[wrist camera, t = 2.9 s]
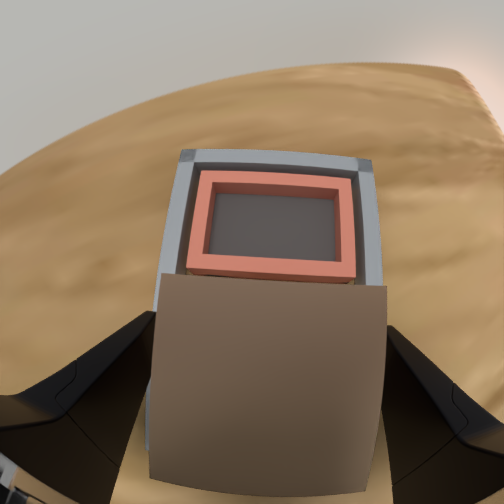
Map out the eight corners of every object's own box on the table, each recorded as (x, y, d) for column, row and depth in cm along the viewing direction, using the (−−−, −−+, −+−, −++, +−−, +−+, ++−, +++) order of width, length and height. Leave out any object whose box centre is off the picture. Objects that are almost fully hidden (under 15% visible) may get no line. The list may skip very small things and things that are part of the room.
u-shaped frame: (357, 452, 13) (367, 464, 11) (157, 439, 14) (145, 449, 12) (362, 176, 18) (371, 160, 16) (188, 166, 19) (181, 149, 17)
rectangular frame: (346, 283, 16) (355, 277, 15) (193, 274, 17) (186, 267, 15) (343, 192, 18) (350, 178, 16) (206, 185, 19) (201, 170, 17)
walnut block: (302, 398, 14) (365, 490, 4) (222, 393, 15) (149, 478, 4) (307, 321, 16) (387, 285, 5) (228, 316, 16) (161, 272, 6)
